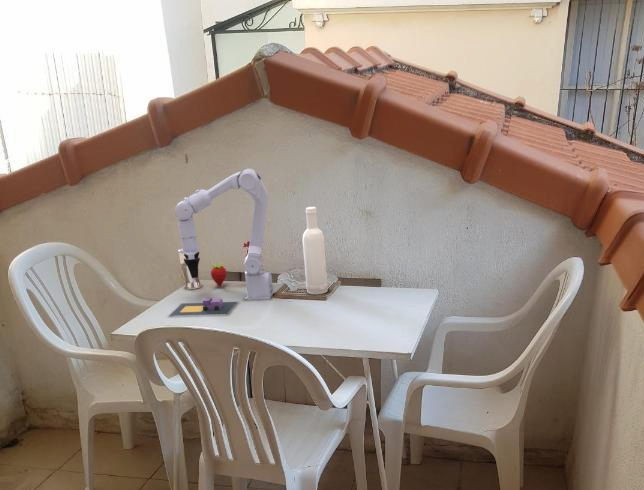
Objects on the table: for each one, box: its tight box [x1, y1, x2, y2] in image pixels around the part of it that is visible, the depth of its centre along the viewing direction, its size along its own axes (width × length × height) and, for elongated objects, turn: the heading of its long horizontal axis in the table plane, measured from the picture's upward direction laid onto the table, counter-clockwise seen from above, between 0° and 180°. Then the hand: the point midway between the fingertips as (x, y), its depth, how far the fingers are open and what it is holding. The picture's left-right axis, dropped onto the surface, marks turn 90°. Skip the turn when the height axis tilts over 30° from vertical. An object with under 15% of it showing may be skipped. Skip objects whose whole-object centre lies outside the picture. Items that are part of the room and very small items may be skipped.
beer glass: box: [178, 248, 202, 290], centre depth 272 cm, size 7×7×15 cm
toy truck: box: [202, 297, 224, 311], centre depth 246 cm, size 6×5×3 cm
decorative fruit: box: [210, 261, 227, 287], centre depth 271 cm, size 6×8×10 cm
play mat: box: [169, 301, 238, 317], centre depth 247 cm, size 21×14×1 cm, turn 82°
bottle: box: [302, 206, 329, 295], centre depth 250 cm, size 8×8×30 cm
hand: (194, 275), depth 252 cm, fingers open, 7 cm apart
